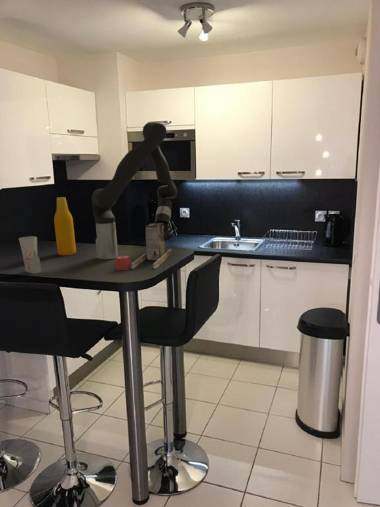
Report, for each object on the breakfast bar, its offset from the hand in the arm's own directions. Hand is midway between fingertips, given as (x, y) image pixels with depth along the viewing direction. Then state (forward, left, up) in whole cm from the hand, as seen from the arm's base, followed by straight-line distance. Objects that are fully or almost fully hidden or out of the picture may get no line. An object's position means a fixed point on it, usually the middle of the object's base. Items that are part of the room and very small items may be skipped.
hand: (158, 245), depth 200 cm
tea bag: (-48, -32, -5) cm, 58 cm away
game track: (0, -10, -5) cm, 11 cm away
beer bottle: (-50, +3, -5) cm, 50 cm away
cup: (-59, -16, -5) cm, 61 cm away
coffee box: (0, -5, -5) cm, 7 cm away
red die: (-9, -25, -5) cm, 27 cm away
